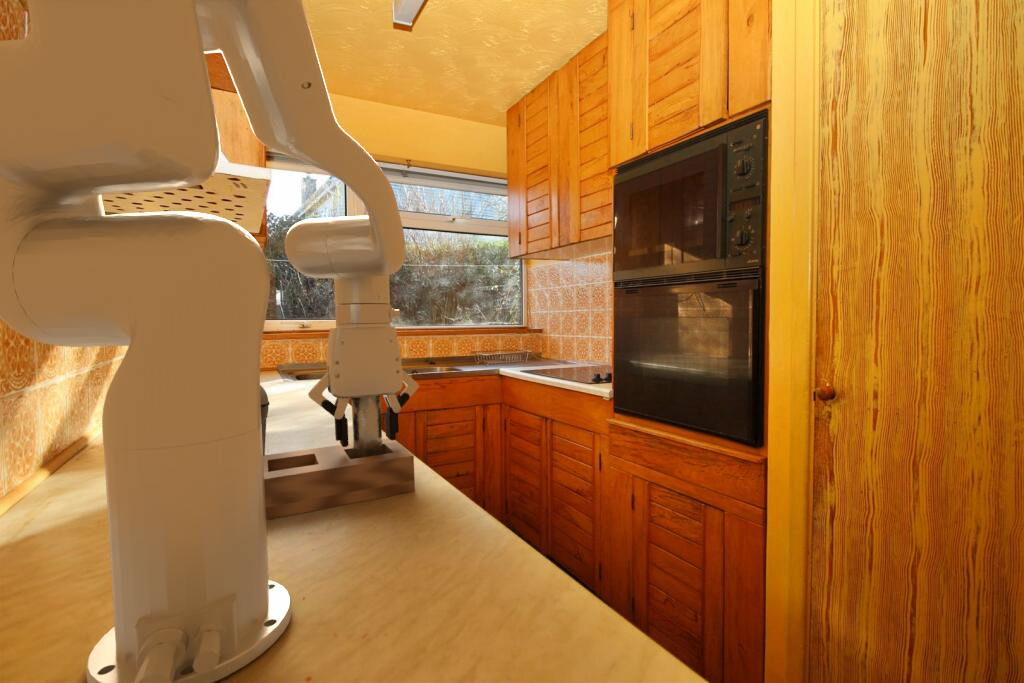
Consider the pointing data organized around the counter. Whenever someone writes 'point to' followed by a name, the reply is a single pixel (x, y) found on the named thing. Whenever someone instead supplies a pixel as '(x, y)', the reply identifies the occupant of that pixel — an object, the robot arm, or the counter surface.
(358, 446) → the steel pin
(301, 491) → the walnut block
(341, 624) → the counter surface
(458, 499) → the counter surface
